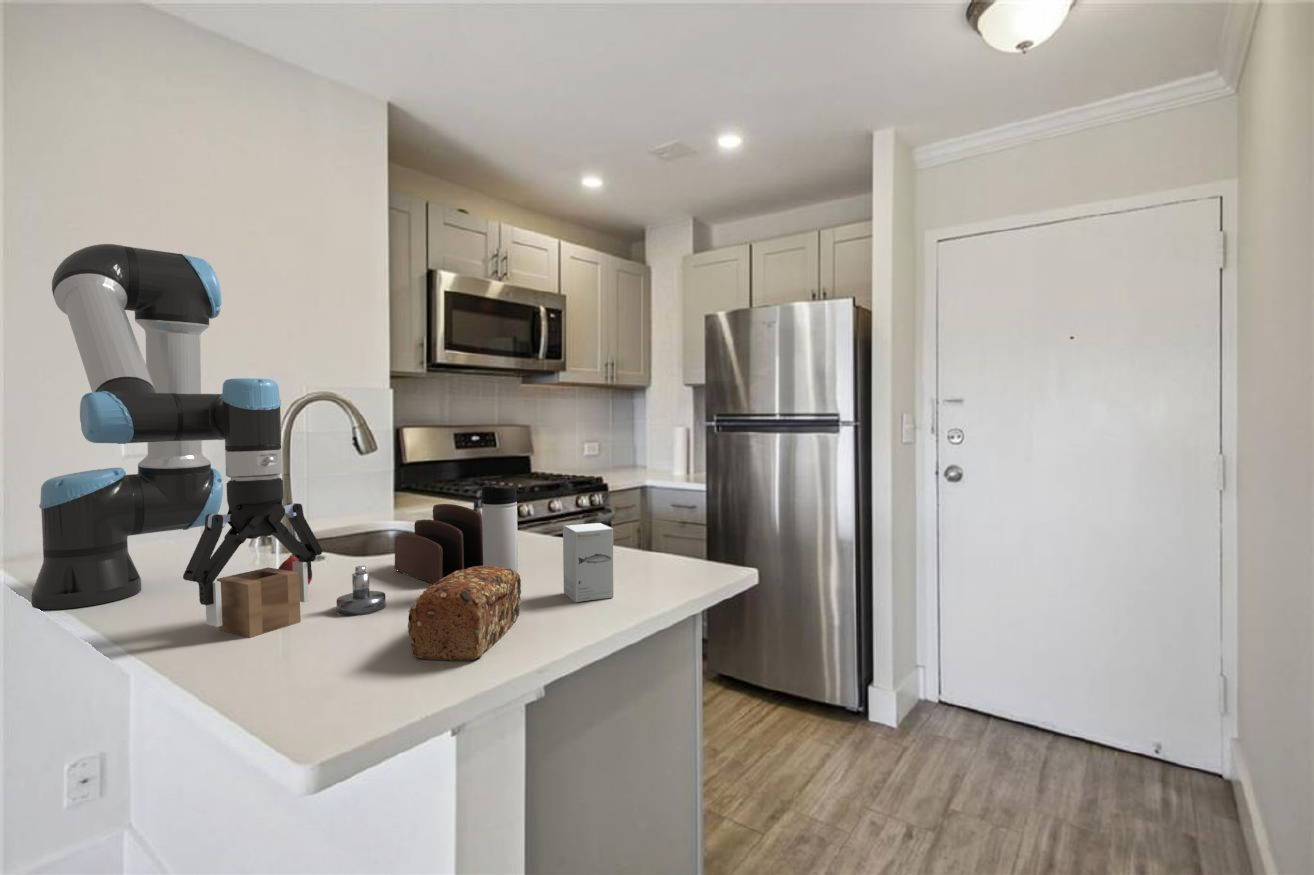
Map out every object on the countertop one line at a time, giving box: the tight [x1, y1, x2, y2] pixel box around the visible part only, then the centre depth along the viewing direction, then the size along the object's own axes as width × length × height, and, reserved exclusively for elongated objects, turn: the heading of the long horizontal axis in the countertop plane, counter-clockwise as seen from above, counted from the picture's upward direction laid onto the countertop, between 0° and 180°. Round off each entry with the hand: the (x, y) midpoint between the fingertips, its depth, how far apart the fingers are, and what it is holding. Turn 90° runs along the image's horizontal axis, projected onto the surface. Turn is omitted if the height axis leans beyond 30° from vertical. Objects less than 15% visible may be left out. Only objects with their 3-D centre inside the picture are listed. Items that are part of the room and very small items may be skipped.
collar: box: [216, 567, 302, 638], centre depth 102 cm, size 8×8×8 cm
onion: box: [277, 553, 313, 586], centre depth 118 cm, size 6×6×8 cm
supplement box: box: [562, 522, 615, 604], centre depth 116 cm, size 7×7×13 cm
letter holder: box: [394, 503, 483, 585], centre depth 134 cm, size 10×20×14 cm, turn 47°
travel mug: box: [481, 485, 519, 574], centre depth 119 cm, size 6×7×20 cm
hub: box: [335, 565, 387, 617], centre depth 110 cm, size 8×8×7 cm
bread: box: [407, 565, 522, 662], centre depth 95 cm, size 19×11×10 cm, turn 174°
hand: (260, 612), depth 102 cm, fingers open, 13 cm apart
